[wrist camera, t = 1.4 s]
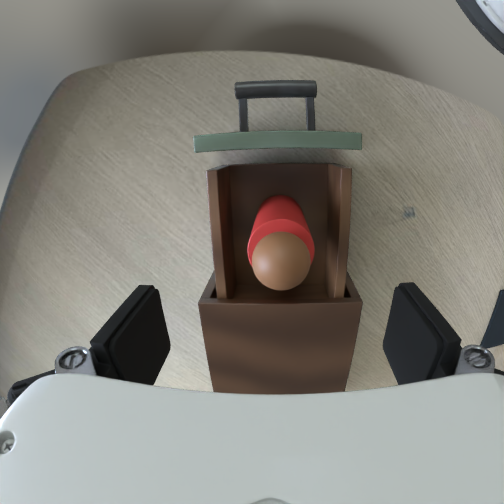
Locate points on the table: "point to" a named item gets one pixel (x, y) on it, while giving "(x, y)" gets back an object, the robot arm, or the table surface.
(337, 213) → the drawer
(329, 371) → the cabinet
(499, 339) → the coaster
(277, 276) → the red cylinder
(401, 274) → the table surface
